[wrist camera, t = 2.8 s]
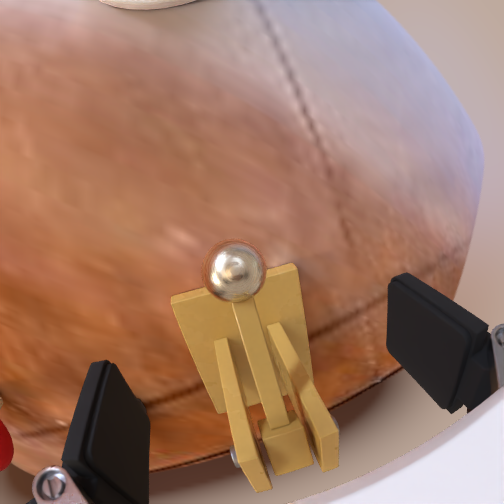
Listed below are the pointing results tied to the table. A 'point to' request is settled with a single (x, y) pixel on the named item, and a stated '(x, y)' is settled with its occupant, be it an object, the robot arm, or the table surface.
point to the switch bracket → (239, 372)
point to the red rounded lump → (5, 445)
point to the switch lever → (256, 347)
